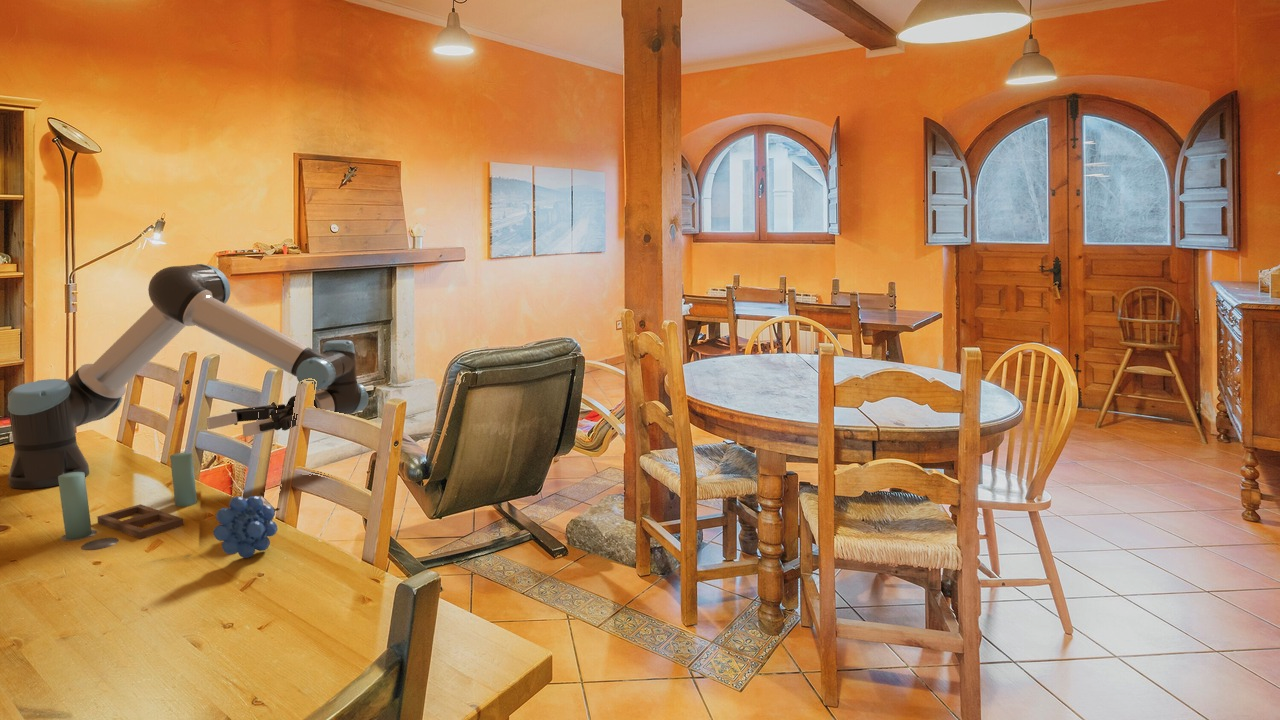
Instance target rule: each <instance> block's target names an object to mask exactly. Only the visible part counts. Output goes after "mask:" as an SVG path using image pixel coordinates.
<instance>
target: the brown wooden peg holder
mask: <svg viewBox="0 0 1280 720" xmlns="http://www.w3.org/2000/svg"><path fill="white" fill-rule="evenodd" d="M136 514H138V516H133V515H136ZM129 516H133V517H131V518H128V519H124V520H120V519H123V518H127V517H129ZM96 518H97V524H100V525H102V526H105V527H108V528H111V529H113V530H115V531H119V532H121V533H123V534H126V535H129V536H131V537H134V538H136V539H139V540H142V539H145V538H149V537H151V536H154V535H157V534H160V533H164V532H167V531H170V530H174V529H176V528H179V527H183V526H184V525H185V524H184V518H183V517H179V516H177V515H173V514H171V513H168V512H165V511H161V510H159V509H156V508H153V507H150V506H147V505H144V504H141V503H140V504H136V505H133V506H129V507H126V508H123V509H122V508H121V509H119V510H115V511H112V512H108V513H105V514H101V515H98V516H96ZM156 522H160V523H158V524H155V525H151V526H148V527H146V528H141V527H143V526H146V525H149V524H153V523H156ZM161 522H162V523H161Z"/></svg>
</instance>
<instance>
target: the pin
mask: <svg viewBox="0 0 1280 720" xmlns="http://www.w3.org/2000/svg"><path fill="white" fill-rule="evenodd" d="M58 481H59V485H58V487H59V496H60V503H61V504H60V505H61V510H62V518H63V519H62V520H63V525H64V528H63V529H64V535H66V539H79V538H83V537H86V536H89V535H91V534H92V530H93V529H92V523H91V514H90V506H89V498H88V491H87V483H86V477H85V473H84V472H71V473H66V474H62V475H60V476H58Z"/></svg>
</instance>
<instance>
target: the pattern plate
mask: <svg viewBox="0 0 1280 720" xmlns="http://www.w3.org/2000/svg"><path fill="white" fill-rule="evenodd" d="M97 533H98V531H97V530H95V529H92V534H91V535H89V536H86V537H83V538H79V539H66V535H65V534H64V535H63V536H61V537H60V541H62V542H75V541H76V542H77V541H82V540H86V539H88V538H91V537H93V536H95V535H97ZM118 542H119V539H118V538H115V537H103V538H98V539H94V540H91V541H87V542H85V543H84V544H82V545H81V546H80V549H81V550H84V551H98V550H102V549H106V548H110V547H112V546H114V545H116V544H118Z"/></svg>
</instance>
